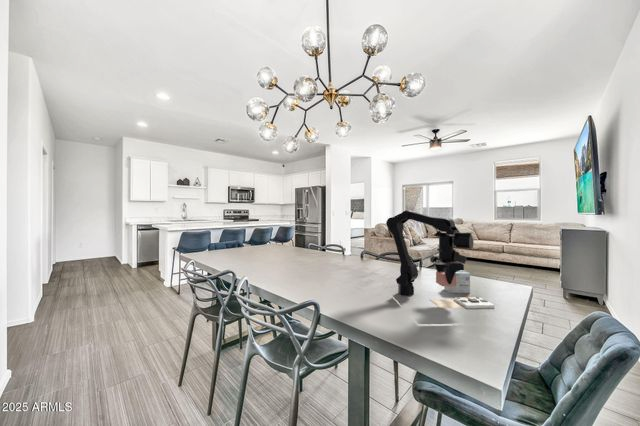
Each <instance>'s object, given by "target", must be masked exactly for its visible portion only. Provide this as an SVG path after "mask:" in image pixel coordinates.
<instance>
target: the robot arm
mask: <svg viewBox="0 0 640 426" xmlns="http://www.w3.org/2000/svg"><path fill="white" fill-rule="evenodd" d="M409 220H411V221H415V222H418V223H421V224H426V225H429V226H431V227H433V228H434V229H435V230H437V231H436V233H434V234H433V236H434V237H438V248H437V249H436V251H437V252H438V255H432V256H431V257H430V258H429V262H431V263H432V265H433V266H434V268H435V270H436V272H445V275H446V279H447V282H448V284H451V283H452V280H453V277H454V275H455V273H456V272H457V271H465V264H466V262H467V258H468V256H465V255H463V254H462V255H461V254H460V252H458V251H457V250H456V249H465V250H472V249H473V248H474V243H475V242H474V241H475V240H474V239H473V235H472V234H473V232H460V230H459V229H458V228H457V226H456V223H455V221H454V219H452V218H450V217H449V218H447V217H436V216H435V217H434V216H431V215H427V214H424V213H420V212H415V211H413V210H411V209H410V210H407V209H406V210H404V211H402V212H401V213H398V214H396V215H394V216H393V217H389V218H387V220H386V223H385V224H386V227H387V230H388V231H389V232H390V234H391V235H392V236H393V240H394V244H395V247H396V251H397V255H398V258H399V261H400V269H399V271H400V273H399V276H398V277H397V278H396V279H395V281H396V284H397V285H398V288H397V290H398V291H397V292H398V294H399V296H405V297H406V296H409V297H410V296H414V293H415V286H414V282H415V280H416V279H417V278H418V276H419V269H418V266H417V264H416V263H415V264H413V262H412V261H411V257H410V254H409V250H408V248H407V247H408V246H407V244H406V240H405V236H404V227H405V226H404V224H405V223H407V222H408V221H409ZM454 247H455V248H456V249H454Z"/></svg>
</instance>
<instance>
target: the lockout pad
mask: <svg viewBox="0 0 640 426" xmlns="http://www.w3.org/2000/svg"><path fill="white" fill-rule="evenodd" d="M429 301H430V302H431V303H433V304H434V305H436V306H437V307H438V308H439V309H446V308H447V309H451V308H453V309H454V308H457V309H458V308H461V309H462V308H463V307H464V306H462V305H461V304H459V303H457V302H456V301H454V300H453V299H429ZM463 309H464V308H463Z"/></svg>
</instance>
